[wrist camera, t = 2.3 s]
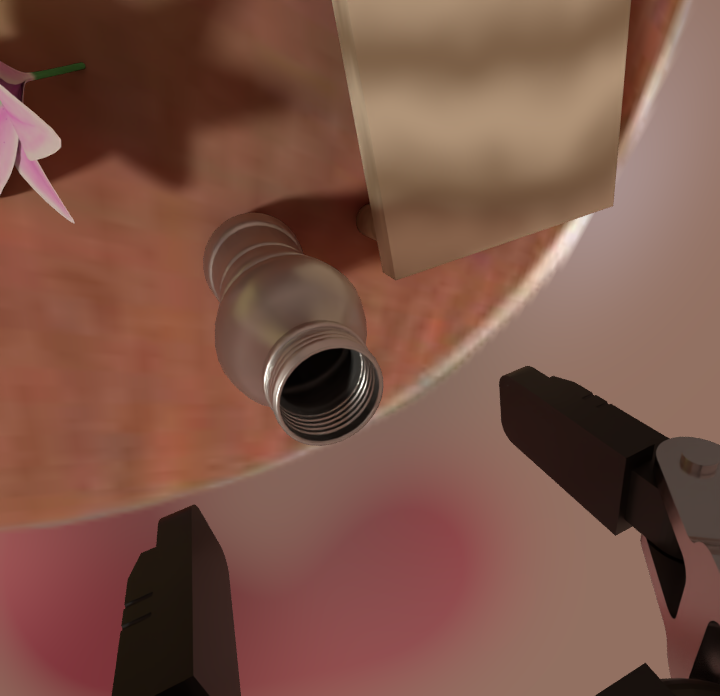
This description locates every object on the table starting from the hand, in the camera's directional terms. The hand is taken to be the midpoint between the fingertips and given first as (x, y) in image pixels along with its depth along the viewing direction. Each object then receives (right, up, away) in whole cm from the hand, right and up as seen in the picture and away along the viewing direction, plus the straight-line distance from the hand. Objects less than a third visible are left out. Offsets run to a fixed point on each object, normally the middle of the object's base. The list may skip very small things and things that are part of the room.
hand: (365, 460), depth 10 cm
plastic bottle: (-8, +9, +20) cm, 23 cm away
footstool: (+5, +22, +19) cm, 30 cm away
